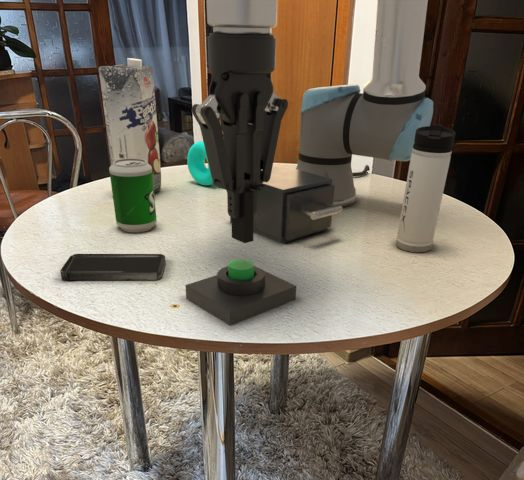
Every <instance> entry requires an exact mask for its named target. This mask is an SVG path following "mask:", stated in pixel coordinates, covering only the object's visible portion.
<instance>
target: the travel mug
mask: <svg viewBox="0 0 524 480" xmlns="http://www.w3.org/2000/svg"><path fill="white" fill-rule="evenodd" d="M455 137H456V131H455V130H453V129H452V128H449V127H445V126H443V124H434V123H432V124H431V125H430V126H426V127H420V128H418V129H417V130H416V133H415V138H414V142H415V143H414V144H413V148H412V151H413V152H412V154H411V159H410V160H409V165H408V171H407V176H406V177H407V178H406V183H405V189H404V195H403V199H402V206H401V210H400V211H401V212H400V218H399V223H398V230H397V235H396V241H395V245H396V247H397V248H399V250H400V249H401V250H402V251H406V252H409V253H410V252H411V253H426V252H429V251H430V250H432V246H433V243H434V241H433V240H434V237H435V232H436V230H437V229H436V228H437V224H438V219H439V214H440V210H441V205H442V200H443V196H444V191H445V186H446V181H447V177H448V172H449V168H450V164H451V158H452V153H453V146H454V141H455Z"/></svg>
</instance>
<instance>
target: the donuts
mask: <svg viewBox="0 0 524 480" xmlns="http://www.w3.org/2000/svg"><path fill="white" fill-rule="evenodd" d="M205 159H206V162H207V166H206V164H205ZM186 160H187V161H186V163H187V169H188V172H189V174H190V175H191V177H192V179H193V180H194V181H195V182H196V183H198V184H199V185H202V186H212V185H214V184H213V180H212V176H211V172H210V168H209V163H208V159H207V155H206V150H205V146H204V142H203V140H201V141H200V140H199V141H196V142H195V143H193V144H192V145H191V147H190V148H189V150H188V152H187V156H186Z"/></svg>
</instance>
